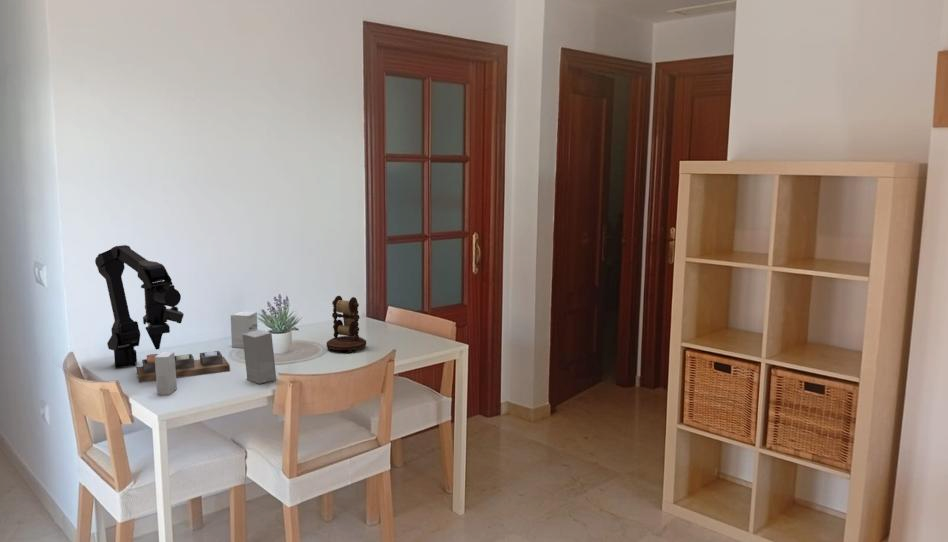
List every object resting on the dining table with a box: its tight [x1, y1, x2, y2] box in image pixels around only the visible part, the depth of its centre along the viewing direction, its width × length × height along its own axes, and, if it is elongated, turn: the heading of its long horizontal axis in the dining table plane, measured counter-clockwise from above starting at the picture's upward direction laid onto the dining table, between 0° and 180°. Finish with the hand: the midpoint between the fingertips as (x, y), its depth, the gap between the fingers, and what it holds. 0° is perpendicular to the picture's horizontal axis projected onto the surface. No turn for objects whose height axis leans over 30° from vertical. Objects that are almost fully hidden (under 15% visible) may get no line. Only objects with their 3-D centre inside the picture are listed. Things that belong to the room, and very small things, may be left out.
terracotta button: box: [146, 353, 159, 364], centre depth 244 cm, size 4×4×3 cm
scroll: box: [326, 295, 367, 354], centre depth 277 cm, size 15×15×20 cm
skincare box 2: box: [242, 329, 277, 385], centre depth 239 cm, size 8×7×16 cm
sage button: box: [176, 354, 189, 360], centre depth 248 cm, size 4×4×3 cm
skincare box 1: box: [154, 351, 178, 396], centre depth 227 cm, size 6×4×12 cm
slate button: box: [204, 351, 217, 357], centre depth 253 cm, size 4×4×3 cm
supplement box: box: [230, 311, 259, 349], centre depth 282 cm, size 7×7×13 cm
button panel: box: [135, 350, 231, 383], centre depth 249 cm, size 28×12×5 cm, turn 117°
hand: (157, 349), depth 244 cm, fingers closed
